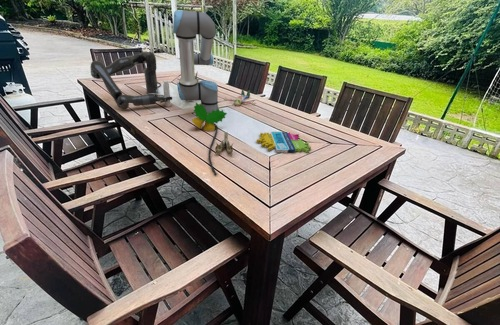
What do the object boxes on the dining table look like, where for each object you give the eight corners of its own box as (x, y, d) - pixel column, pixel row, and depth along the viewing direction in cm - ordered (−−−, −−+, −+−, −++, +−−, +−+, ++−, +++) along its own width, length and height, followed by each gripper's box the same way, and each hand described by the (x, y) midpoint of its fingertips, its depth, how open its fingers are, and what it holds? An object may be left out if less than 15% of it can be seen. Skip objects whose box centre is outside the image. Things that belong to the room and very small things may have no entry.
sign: (313, 150, 142) (258, 149, 139) (312, 153, 143) (258, 152, 140) (301, 132, 164) (254, 130, 161) (301, 134, 165) (254, 133, 162)
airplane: (171, 82, 265) (170, 71, 260) (201, 80, 279) (201, 70, 274) (181, 92, 237) (180, 81, 232) (214, 89, 250) (214, 79, 245)
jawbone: (234, 135, 144) (233, 125, 135) (233, 160, 138) (232, 151, 129) (217, 135, 144) (216, 125, 135) (216, 160, 138) (214, 150, 129)
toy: (261, 91, 228) (254, 99, 202) (261, 99, 231) (253, 108, 205) (231, 87, 233) (220, 95, 207) (230, 95, 236) (219, 104, 210)
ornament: (218, 133, 171) (224, 110, 169) (221, 134, 163) (227, 111, 161) (186, 125, 162) (192, 101, 160) (189, 126, 155) (195, 101, 153)
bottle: (171, 104, 201) (169, 80, 192) (170, 106, 198) (168, 81, 189) (165, 104, 201) (163, 80, 192) (164, 106, 197) (162, 81, 188)
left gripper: (150, 97, 182) (173, 94, 191) (144, 92, 192) (167, 90, 201) (151, 107, 186) (174, 104, 195) (145, 102, 196) (168, 99, 205)
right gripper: (194, 68, 208) (195, 97, 219) (174, 70, 197) (177, 100, 208) (200, 70, 203) (200, 99, 215) (180, 72, 192) (182, 103, 204)
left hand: (170, 97), depth 198 cm, fingers closed on bottle, 4 cm apart
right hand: (189, 100), depth 211 cm, fingers closed on lid, 4 cm apart
